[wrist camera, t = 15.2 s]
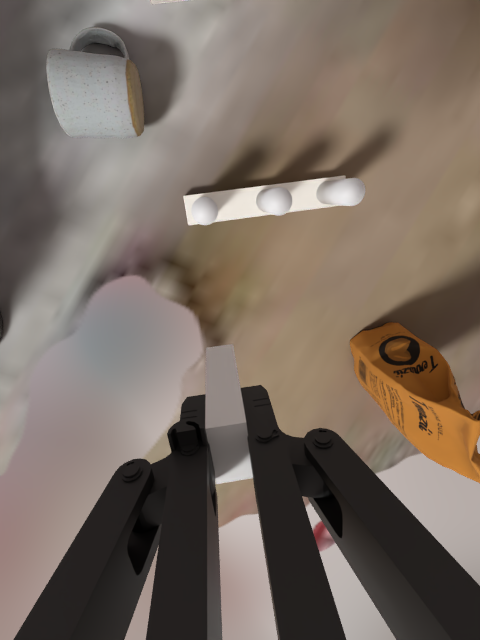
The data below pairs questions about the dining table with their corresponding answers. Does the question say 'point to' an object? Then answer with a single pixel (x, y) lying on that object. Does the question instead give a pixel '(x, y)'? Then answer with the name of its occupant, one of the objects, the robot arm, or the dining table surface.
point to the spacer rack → (271, 196)
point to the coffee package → (418, 396)
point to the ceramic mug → (95, 89)
